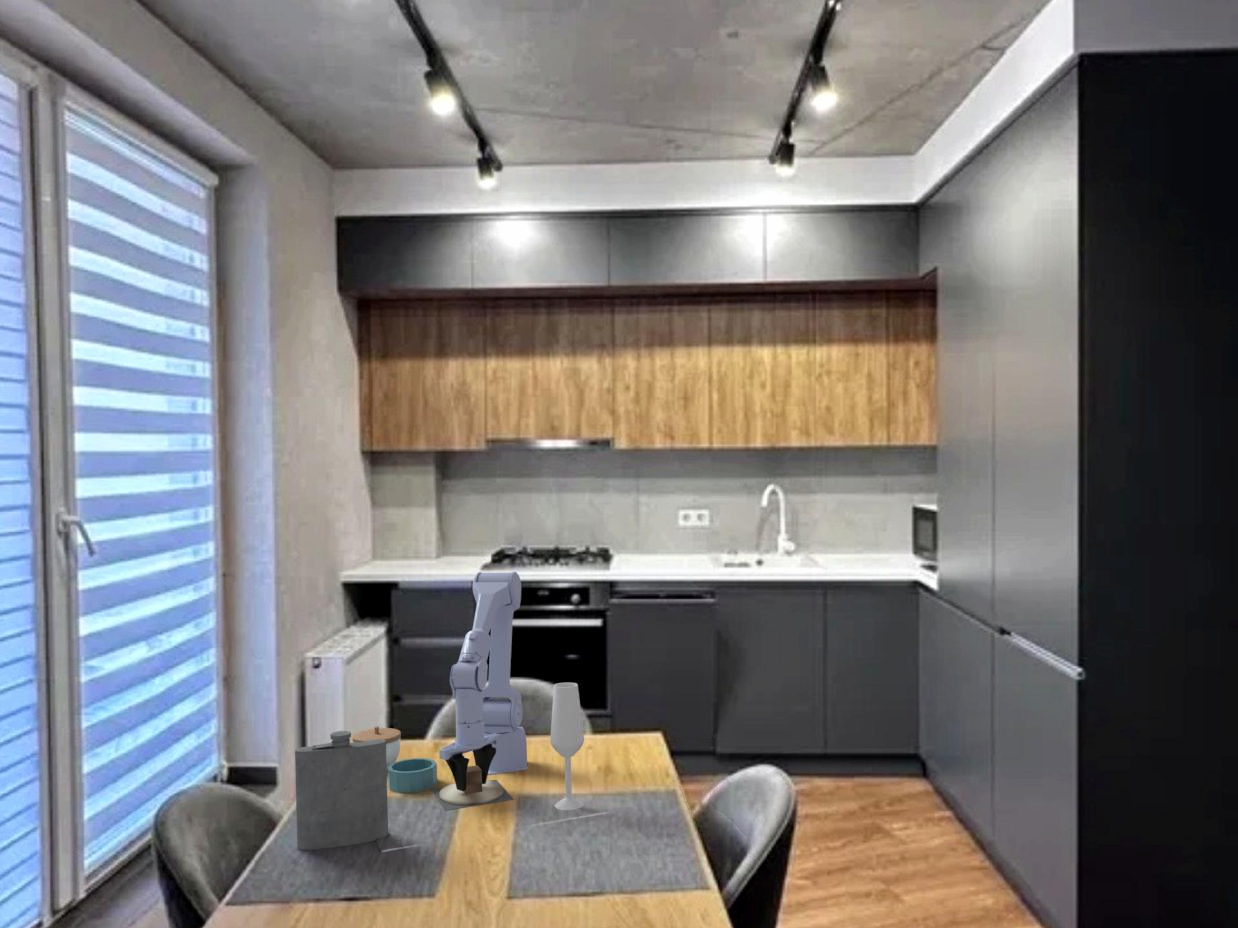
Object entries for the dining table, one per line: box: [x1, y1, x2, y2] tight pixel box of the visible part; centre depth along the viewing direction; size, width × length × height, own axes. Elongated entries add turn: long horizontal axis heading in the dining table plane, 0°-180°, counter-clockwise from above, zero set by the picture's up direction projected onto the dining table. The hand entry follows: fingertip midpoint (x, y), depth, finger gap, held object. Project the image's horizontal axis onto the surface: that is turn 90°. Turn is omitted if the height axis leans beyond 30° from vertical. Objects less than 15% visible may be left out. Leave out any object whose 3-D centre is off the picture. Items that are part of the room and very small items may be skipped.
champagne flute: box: [549, 682, 585, 811], centre depth 187 cm, size 7×7×24 cm
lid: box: [440, 764, 504, 805], centre depth 195 cm, size 13×13×5 cm
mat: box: [430, 779, 515, 812], centre depth 195 cm, size 14×14×1 cm
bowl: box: [387, 757, 438, 794], centre depth 203 cm, size 10×10×4 cm
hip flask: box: [294, 730, 389, 851], centre depth 172 cm, size 16×4×20 cm, turn 107°
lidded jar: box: [352, 725, 402, 771], centre depth 216 cm, size 11×11×9 cm
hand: (471, 786), depth 195 cm, fingers closed on lid, 5 cm apart
